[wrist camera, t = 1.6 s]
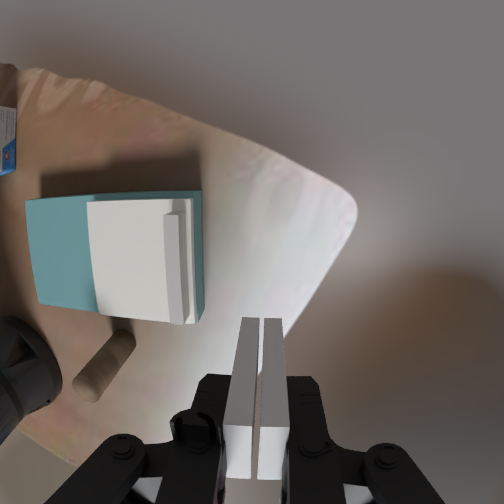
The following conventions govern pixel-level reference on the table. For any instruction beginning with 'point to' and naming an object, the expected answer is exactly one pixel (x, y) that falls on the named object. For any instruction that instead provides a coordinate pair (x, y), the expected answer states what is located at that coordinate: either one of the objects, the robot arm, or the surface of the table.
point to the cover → (144, 258)
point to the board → (85, 246)
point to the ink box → (7, 140)
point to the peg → (104, 366)
